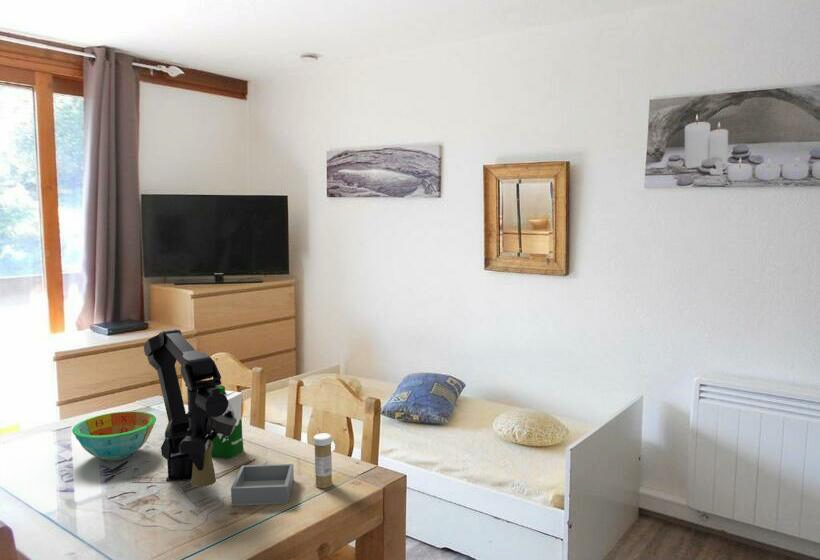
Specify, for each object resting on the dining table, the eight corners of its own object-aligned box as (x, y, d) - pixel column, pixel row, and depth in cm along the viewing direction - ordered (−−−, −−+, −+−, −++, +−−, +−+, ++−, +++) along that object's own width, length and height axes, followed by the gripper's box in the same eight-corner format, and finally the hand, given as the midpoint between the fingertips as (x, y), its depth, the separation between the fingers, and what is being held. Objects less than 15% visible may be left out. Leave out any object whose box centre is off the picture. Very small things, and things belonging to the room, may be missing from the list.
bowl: (56, 464, 181) (53, 430, 180) (118, 437, 201) (116, 407, 200) (115, 476, 173) (112, 441, 171) (174, 447, 193) (172, 415, 192)
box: (231, 506, 155) (230, 488, 155) (242, 481, 169) (241, 465, 168) (287, 503, 156) (287, 486, 156) (293, 479, 170) (293, 463, 169)
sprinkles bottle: (329, 480, 170) (328, 431, 168) (334, 486, 166) (333, 437, 164) (312, 483, 168) (311, 434, 166) (318, 490, 164) (316, 440, 162)
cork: (208, 487, 158) (206, 445, 156) (186, 485, 159) (184, 443, 157) (220, 477, 164) (218, 436, 162) (199, 475, 165) (197, 434, 163)
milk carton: (222, 446, 194) (220, 382, 191) (248, 449, 191) (245, 385, 189) (204, 457, 186) (201, 390, 183) (231, 460, 183) (228, 393, 180)
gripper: (224, 418, 150) (227, 481, 152) (240, 394, 169) (242, 451, 170) (176, 419, 149) (179, 483, 151) (197, 395, 168) (200, 452, 170)
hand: (202, 466), depth 161 cm, fingers closed on cork, 4 cm apart
